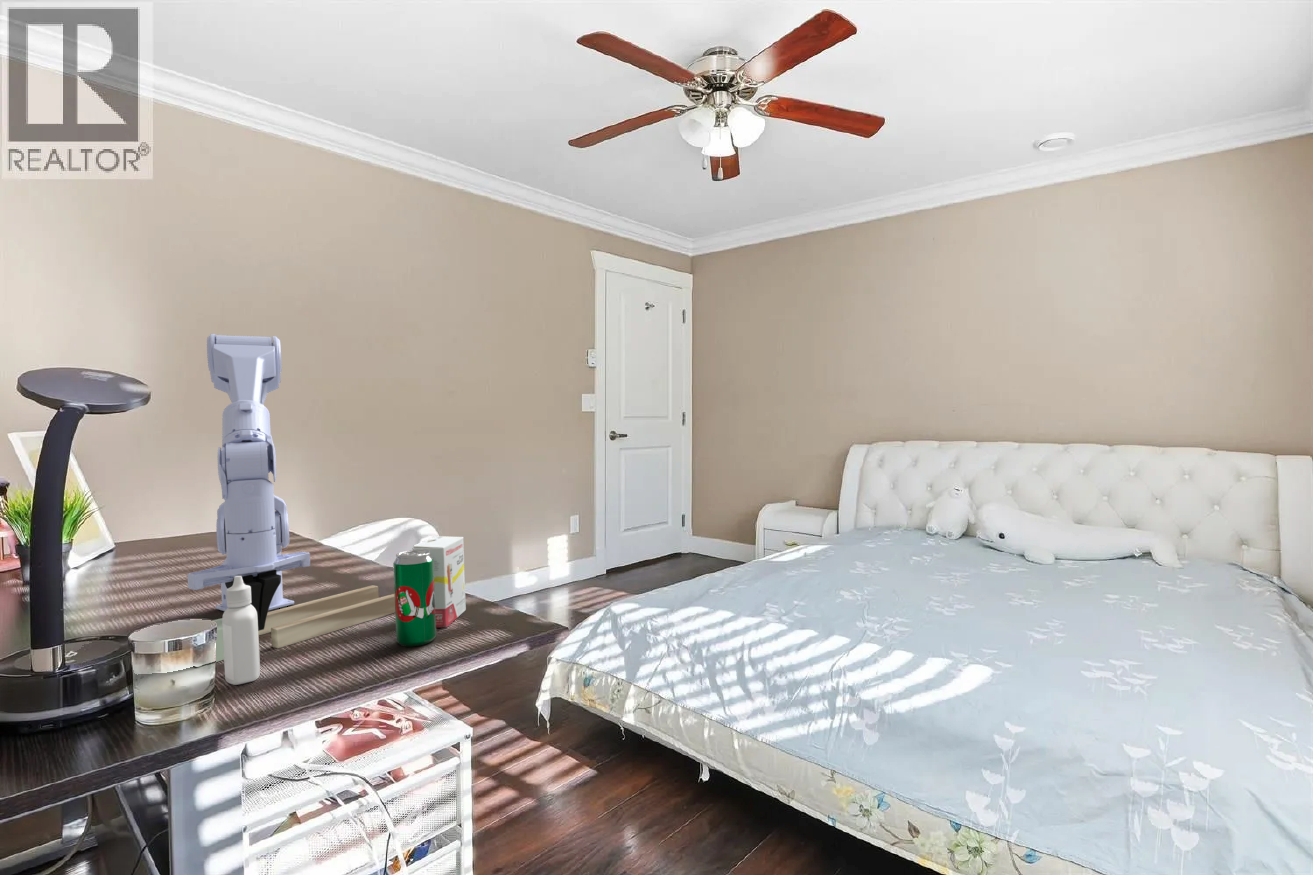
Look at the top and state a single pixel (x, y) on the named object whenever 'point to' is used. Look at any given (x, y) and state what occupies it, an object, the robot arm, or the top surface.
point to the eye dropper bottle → (240, 635)
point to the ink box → (447, 576)
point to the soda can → (414, 598)
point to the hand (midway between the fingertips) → (255, 629)
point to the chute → (326, 615)
